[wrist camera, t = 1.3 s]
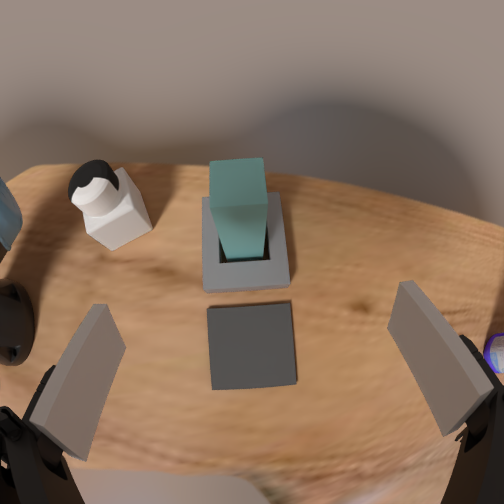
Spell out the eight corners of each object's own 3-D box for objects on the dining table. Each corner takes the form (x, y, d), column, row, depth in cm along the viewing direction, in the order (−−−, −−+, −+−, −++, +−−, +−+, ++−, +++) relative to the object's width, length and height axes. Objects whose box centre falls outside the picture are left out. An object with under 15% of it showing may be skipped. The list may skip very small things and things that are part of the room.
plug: (227, 262, 35) (209, 207, 20) (226, 230, 36) (209, 161, 22) (262, 259, 35) (268, 203, 20) (259, 227, 36) (262, 157, 22)
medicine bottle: (101, 213, 37) (60, 172, 26) (140, 191, 38) (107, 142, 27) (111, 252, 35) (64, 218, 24) (154, 230, 36) (117, 185, 25)
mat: (212, 389, 30) (212, 389, 29) (207, 309, 33) (206, 308, 32) (295, 383, 30) (296, 384, 29) (289, 303, 33) (289, 303, 32)
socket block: (206, 293, 33) (203, 289, 31) (205, 206, 37) (202, 197, 35) (287, 287, 33) (290, 283, 31) (277, 200, 37) (279, 191, 35)
